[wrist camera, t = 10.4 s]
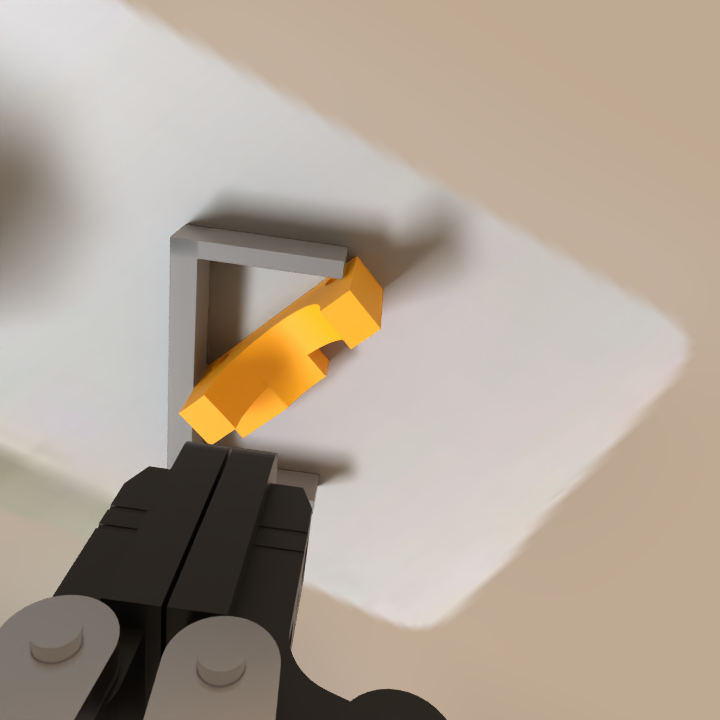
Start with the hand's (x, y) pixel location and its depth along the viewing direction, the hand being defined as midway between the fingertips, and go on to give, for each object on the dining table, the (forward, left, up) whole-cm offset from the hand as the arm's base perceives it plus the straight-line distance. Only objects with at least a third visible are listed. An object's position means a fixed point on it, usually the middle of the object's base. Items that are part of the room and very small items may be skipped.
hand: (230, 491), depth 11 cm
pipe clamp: (-2, -10, -29) cm, 31 cm away
